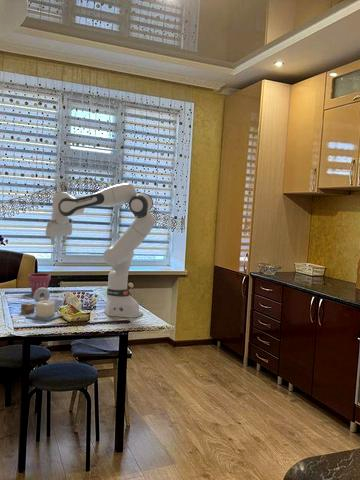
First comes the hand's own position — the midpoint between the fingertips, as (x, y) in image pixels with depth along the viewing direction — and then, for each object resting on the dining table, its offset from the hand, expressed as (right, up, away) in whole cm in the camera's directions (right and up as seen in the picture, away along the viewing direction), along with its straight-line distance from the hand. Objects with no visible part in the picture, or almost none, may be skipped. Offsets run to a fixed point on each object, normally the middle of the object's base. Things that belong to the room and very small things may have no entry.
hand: (58, 243), depth 258 cm
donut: (-13, -37, +11) cm, 41 cm away
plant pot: (-24, -34, +40) cm, 57 cm away
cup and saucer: (-2, -39, -19) cm, 44 cm away
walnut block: (-14, -38, -11) cm, 42 cm away
